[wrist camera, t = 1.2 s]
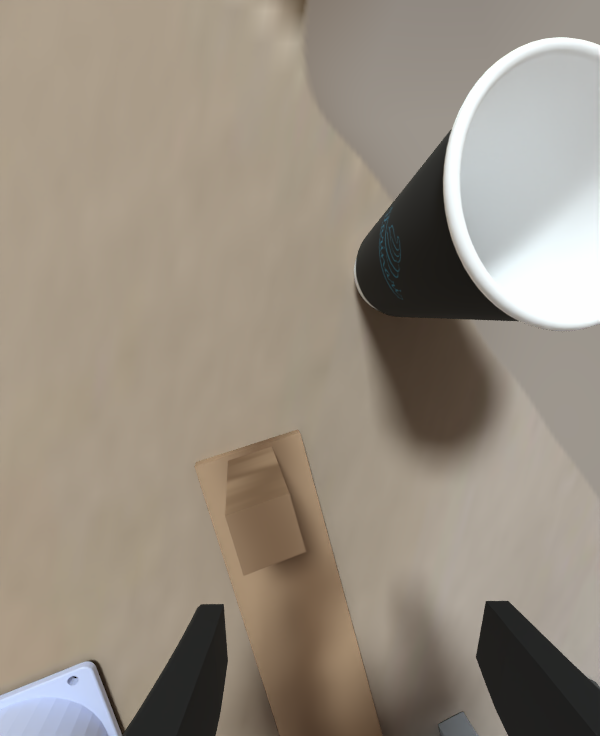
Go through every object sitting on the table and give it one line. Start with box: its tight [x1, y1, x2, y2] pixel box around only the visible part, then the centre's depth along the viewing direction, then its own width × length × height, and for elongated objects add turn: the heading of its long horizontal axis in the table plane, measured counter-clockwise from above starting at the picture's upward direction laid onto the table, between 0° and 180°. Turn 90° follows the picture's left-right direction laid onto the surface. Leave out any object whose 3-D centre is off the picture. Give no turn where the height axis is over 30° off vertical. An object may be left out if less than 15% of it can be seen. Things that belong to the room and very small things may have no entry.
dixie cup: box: [354, 38, 600, 331], centre depth 14 cm, size 8×8×11 cm
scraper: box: [195, 430, 383, 736], centre depth 17 cm, size 6×22×7 cm, turn 15°
